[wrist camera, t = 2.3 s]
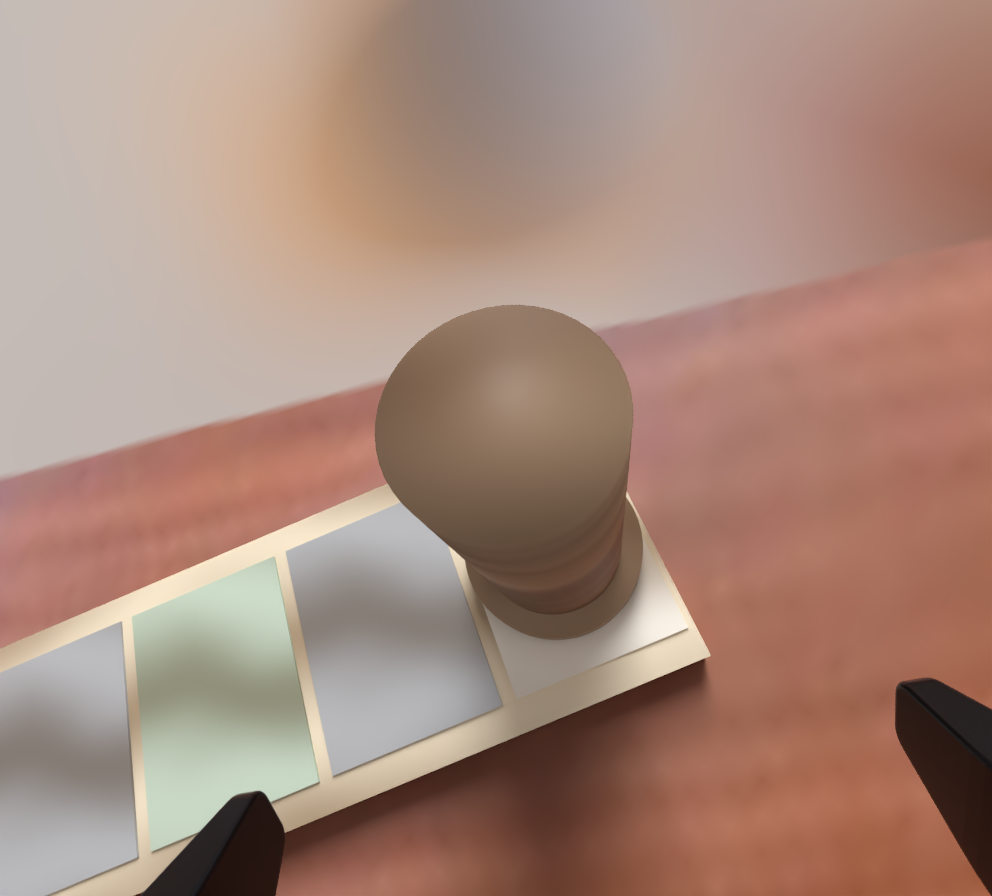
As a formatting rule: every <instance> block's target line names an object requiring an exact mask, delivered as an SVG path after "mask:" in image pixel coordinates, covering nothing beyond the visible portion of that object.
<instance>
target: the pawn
mask: <svg viewBox="0 0 992 896" xmlns="http://www.w3.org/2000/svg"><path fill="white" fill-rule="evenodd" d="M632 427H633V403H632V396H631V390H630V387H629V383H628V380H627V377H626V374H625V372H624V370H623V368H622V366H621V364H620V362H619V360H618V359H617V357H616V356H615V354H614V353H613V351H612V350H611V349H610V347H609V346H608V345H607V344H606V343H605V342H604V341H603V340H602V339H601V338H600V337H599V336H598V335H597V334H596V333H594V332H593V331H592V330H591V329H590V328H588V327H587V326H585V325H583V324H582V323H580V322H579V321H577V320H575V319H573V318H571V317H569V316H566V315H564V314H562V313H559V312H555V311H553V310H549V309H545V308H540V307H535V306H524V305H502V306H495V307H489V308H484V309H480V310H476V311H472V312H469V313H467V314H464V315H461V316H458V317H456V318H454V319H452V320H450V321H448V322H446V323H444V324H442V325H441V326H439V327H438V328H436V329H434V330H433V331H431V332H430V333H429V334H427V335H426V336H425V337H424V338H422V339H421V340H420V341H419V342H417V343H416V344H415V345H414V347H412V348H411V349H410V350H409V351H408V352H407V354H406V355H405V356H404V357H403V359H402V360H401V361H400V362H399V364H398V365H397V367H396V368H395V370H394V371H393V373H392V374H391V376H390V378H389V380H388V382H387V384H386V386H385V388H384V390H383V393H382V396H381V399H380V402H379V405H378V410H377V415H376V422H375V443H376V452H377V456H378V460H379V465H380V467H381V470H382V472H383V475H384V477H385V479H386V481H387V483H388V485H389V486H390V488H391V490H392V492H393V493H394V494H395V496H396V497H397V498H398V499H399V501H400V502H401V503H402V504H403V505H404V506H405V507H406V508H407V509H408V510H409V511H410V512H411V513H412V514H413V515H414V516H415V517H417V518H418V519H419V520H420V521H421V522H422V523H423V524H425V525H426V526H427V527H428V528H429V529H430V530H431V531H432V532H434V533H435V534H436V535H437V536H438V537H439V538H440V539H441V540H443V541H444V542H445V543H446V544H447V545H448V546H449V547H450V548H452V549H453V550H454V551H455V552H456V553H457V554H458V555H460V556H461V557H462V558H463V559H464V560H465V564H466V569H467V573H468V576H469V579H470V582H471V584H472V586H473V589H474V590H475V592H476V594H477V595H478V597H479V599H480V600H481V601H482V603H483V604H484V605H485V606H486V608H487V609H488V610H489V611H490V612H491V613H492V614H493V615H494V616H495V617H497V618H498V619H500V620H501V621H502V622H504V623H505V624H507V625H508V626H510V627H512V628H513V629H515V630H517V631H519V632H521V633H524V634H526V635H529V636H532V637H536V638H541V639H549V640H564V639H571V638H576V637H580V636H583V635H586V634H589V633H591V632H593V631H595V630H597V629H599V628H601V627H602V626H604V625H605V624H606V623H608V622H609V621H611V620H612V619H613V618H614V617H615V616H616V615H617V614H618V613H619V612H620V611H621V609H622V608H623V607H624V606H625V605H626V603H627V602H628V600H629V598H630V597H631V595H632V593H633V591H634V588H635V586H636V584H637V581H638V577H639V573H640V570H641V566H642V558H643V539H642V532H641V528H640V524H639V521H638V518H637V516H636V513H635V511H634V509H633V507H632V505H631V504H630V502H629V500H628V499H627V498H626V492H627V481H628V470H629V459H630V448H631V438H632Z"/></svg>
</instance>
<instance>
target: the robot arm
mask: <svg viewBox="0 0 992 896" xmlns="http://www.w3.org/2000/svg"><path fill="white" fill-rule="evenodd" d="M895 728H896V733H897V736H898V739H899V741H900V744H901V746H902V747H903V749H904V751H905V753H906V754H907V756H908V758H909V760H910V761H911V763H912V765H913V767H914V768H915V770H916V772H917V773H918V775H919V777H920V779H921V780H922V782H923V784H924V785H925V787H926V789H927V791H928V792H929V794H930V796H931V798H932V799H933V801H934V803H935V804H936V806H937V808H938V810H939V811H940V813H941V815H942V817H943V818H944V820H945V822H946V823H947V825H948V827H949V829H950V830H951V832H952V834H953V836H954V837H955V839H956V841H957V842H958V844H959V846H960V848H961V849H962V851H963V853H964V854H965V856H966V858H967V859H968V861H969V863H970V864H971V866H972V868H973V869H974V871H975V872H976V874H977V875H978V877H979V878H980V880H981V881H982V883H983V884H984V886H985V887H986V889H987V890H988V892H989V893H990V895H991V896H992V709H990V708H988V707H987V706H985V705H983V704H981V703H979V702H977V701H975V700H974V699H972V698H970V697H968V696H966V695H964V694H963V693H961V692H959V691H957V690H955V689H953V688H951V687H950V686H948V685H946V684H944V683H942V682H940V681H938V680H936V679H933V678H920V679H914V680H908V681H902V682H900V683H899V684H898V685H897V687H896V700H895ZM284 844H285V831H284V827H283V824H282V822H281V820H280V819H279V817H278V815H277V813H276V811H275V810H274V808H273V806H272V804H271V803H270V801H269V799H268V797H267V796H266V794H265V793H264V792H262V791H252V792H246V793H240V794H237V795H235V796H233V797H232V798H231V799H230V800H228V801H227V802H226V804H225V805H224V806H223V807H222V808H221V809H220V810H219V811H218V812H217V813H216V814H215V815H214V817H213V818H212V819H211V820H210V821H209V822H208V823H207V824H206V825H205V826H204V827H203V828H202V829H201V831H200V832H199V833H198V834H197V835H196V836H195V837H194V838H193V839H192V840H191V841H190V842H189V844H188V845H187V846H186V847H185V848H184V849H183V850H182V851H181V852H180V853H179V854H178V855H177V857H176V858H175V859H174V860H173V861H172V862H171V863H170V864H169V865H168V866H167V867H166V868H165V869H164V871H163V872H162V873H161V874H160V875H159V876H158V877H157V878H156V879H155V880H154V881H153V882H152V884H151V885H150V886H149V887H148V888H147V889H146V890H145V891H144V892H143V893H142V894H141V895H140V896H275V895H276V890H277V884H278V879H279V873H280V867H281V862H282V856H283V851H284Z"/></svg>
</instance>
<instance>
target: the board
mask: <svg viewBox="0 0 992 896" xmlns="http://www.w3.org/2000/svg"><path fill="white" fill-rule="evenodd" d="M626 498H627V499H628V500H629V502H630V504H631V505H632V507H633V509H634V511H635V513H636V516H637V518H638V521H639V524H640V528H641V532H642V539H643V558H642V566H641V570H640V573H639V577H638V581H637V584H636V586H635V588H634V591H633V593H632V595H631V597H630V598H629V600H628V602H627V603H626V605H625V606H624V607H623V608H622V609H621V611H620V612H619V613H618V614H617V615H616V616H615V617H614V618H613V619H612V620H611V621H609V622H608V623H606V624H605V625H604V626H602V627H601V628H599V629H597V630H595V631H593V632H591V633H589V634H586V635H583V636H580V637H576V638H571V639H564V640H549V639H541V638H536V637H532V636H529V635H526V634H524V633H521V632H519V631H517V630H515V629H513V628H512V627H510V626H508V625H507V624H505V623H504V622H502V621H501V620H500V619H498V618H497V617H495V616H494V615H493V614H492V613H491V612H490V611H489V610H488V609H487V608H486V606H485V605H484V604H483V603H482V601H481V600H480V599H479V597H478V595H477V594H476V592H475V590H474V589H473V586H472V584H471V582H470V579H469V576H468V573H467V569H466V564H465V560H464V559H463V558H462V557H461V556H460V555H458V554H457V553H456V552H455V551H454V550H453V549H452V548H450V547H449V546H448V545H447V544H446V543H445V542H444V541H443V540H441V539H440V538H439V537H438V536H437V535H436V534H435V533H434V532H432V531H431V530H430V529H429V528H428V527H427V526H426V525H425V524H423V523H422V522H421V521H420V520H419V519H418V518H417V517H415V516H414V515H413V514H412V513H411V512H410V511H409V510H408V509H407V508H406V507H405V506H404V505H403V504H402V503H401V502H400V501H399V499H398V498H397V497H396V496H395V494H394V493H393V492H392V490H391V488H390V486H389V485H388V484H385V485H383V486H381V487H378V488H376V489H374V490H371V491H369V492H367V493H364V494H362V495H360V496H357V497H355V498H353V499H350V500H348V501H346V502H343V503H341V504H339V505H336V506H334V507H331V508H329V509H327V510H324V511H322V512H320V513H317V514H315V515H313V516H310V517H308V518H306V519H303V520H301V521H299V522H296V523H294V524H292V525H289V526H287V527H285V528H282V529H280V530H277V531H275V532H273V533H270V534H268V535H266V536H263V537H261V538H259V539H256V540H254V541H252V542H249V543H247V544H245V545H242V546H240V547H238V548H235V549H233V550H231V551H228V552H226V553H223V554H221V555H219V556H216V557H214V558H212V559H209V560H207V561H205V562H202V563H200V564H198V565H195V566H193V567H191V568H188V569H186V570H184V571H181V572H179V573H177V574H174V575H172V576H169V577H167V578H165V579H162V580H160V581H158V582H155V583H153V584H151V585H148V586H146V587H144V588H141V589H139V590H137V591H134V592H132V593H130V594H127V595H125V596H123V597H120V598H118V599H116V600H113V601H111V602H108V603H106V604H104V605H101V606H99V607H97V608H94V609H92V610H90V611H87V612H85V613H83V614H80V615H78V616H76V617H73V618H71V619H69V620H66V621H64V622H62V623H59V624H57V625H54V626H52V627H50V628H47V629H45V630H43V631H40V632H38V633H36V634H33V635H31V636H29V637H26V638H24V639H22V640H19V641H17V642H15V643H12V644H10V645H8V646H5V647H3V648H0V896H134V895H137V894H139V893H142V892H144V891H145V890H146V889H147V888H148V887H149V886H150V885H151V884H152V882H153V881H154V880H155V879H156V878H157V877H158V876H159V875H160V874H161V873H162V872H163V871H164V869H165V868H166V867H167V866H168V865H169V864H170V863H171V862H172V861H173V860H174V859H175V858H176V857H177V855H178V854H179V853H180V852H181V851H182V850H183V849H184V848H185V847H186V846H187V845H188V844H189V842H190V841H191V840H192V839H193V838H194V837H195V836H196V835H197V834H198V833H199V832H200V831H201V829H202V828H203V827H204V826H205V825H206V824H207V823H208V822H209V821H210V820H211V819H212V818H213V817H214V815H215V814H216V813H217V812H218V811H219V810H220V809H221V808H222V807H223V806H224V805H225V804H226V802H227V801H228V800H230V799H231V798H232V797H233V796H235V795H237V794H240V793H246V792H252V791H262V792H264V793H265V794H266V796H267V797H268V799H269V801H270V803H271V804H272V806H273V808H274V810H275V811H276V813H277V815H278V817H279V819H280V820H281V822H282V824H283V827H284V831H285V833H286V832H288V831H291V830H293V829H295V828H298V827H300V826H303V825H305V824H307V823H310V822H312V821H315V820H317V819H319V818H322V817H324V816H327V815H329V814H331V813H334V812H336V811H339V810H341V809H343V808H346V807H348V806H351V805H353V804H355V803H358V802H360V801H363V800H365V799H368V798H370V797H372V796H375V795H377V794H380V793H382V792H384V791H387V790H389V789H392V788H394V787H396V786H399V785H401V784H404V783H406V782H408V781H411V780H413V779H416V778H418V777H420V776H423V775H425V774H428V773H430V772H432V771H435V770H437V769H440V768H442V767H444V766H447V765H449V764H452V763H454V762H456V761H459V760H461V759H464V758H466V757H468V756H471V755H473V754H476V753H478V752H481V751H483V750H485V749H488V748H490V747H493V746H495V745H497V744H500V743H502V742H505V741H507V740H509V739H512V738H514V737H517V736H519V735H521V734H524V733H526V732H529V731H531V730H533V729H536V728H538V727H541V726H543V725H545V724H548V723H550V722H553V721H555V720H557V719H560V718H562V717H565V716H567V715H569V714H572V713H574V712H577V711H579V710H581V709H584V708H586V707H589V706H591V705H594V704H596V703H598V702H601V701H603V700H606V699H608V698H610V697H613V696H615V695H618V694H620V693H622V692H625V691H627V690H630V689H632V688H634V687H637V686H639V685H642V684H644V683H646V682H649V681H651V680H654V679H656V678H658V677H661V676H663V675H666V674H668V673H670V672H673V671H675V670H678V669H680V668H682V667H685V666H687V665H690V664H692V663H694V662H697V661H699V660H702V659H704V658H707V657H709V656H711V655H710V653H709V651H708V649H707V647H706V645H705V643H704V641H703V639H702V637H701V635H700V633H699V631H698V629H697V627H696V625H695V624H694V622H693V620H692V618H691V616H690V614H689V612H688V610H687V608H686V606H685V604H684V602H683V600H682V598H681V596H680V594H679V592H678V590H677V588H676V586H675V585H674V583H673V581H672V579H671V577H670V575H669V573H668V571H667V569H666V567H665V565H664V563H663V561H662V559H661V557H660V555H659V553H658V551H657V549H656V547H655V546H654V544H653V542H652V540H651V538H650V536H649V534H648V532H647V530H646V528H645V526H644V524H643V522H642V520H641V518H640V516H639V514H638V512H637V510H636V508H635V507H634V505H633V503H632V501H631V499H630V497H629V495H628V493H627V492H626Z"/></svg>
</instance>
